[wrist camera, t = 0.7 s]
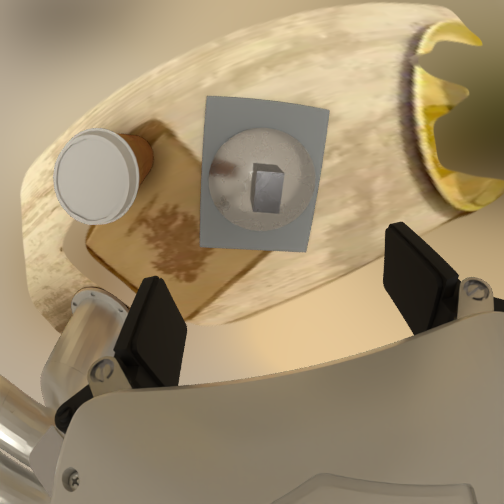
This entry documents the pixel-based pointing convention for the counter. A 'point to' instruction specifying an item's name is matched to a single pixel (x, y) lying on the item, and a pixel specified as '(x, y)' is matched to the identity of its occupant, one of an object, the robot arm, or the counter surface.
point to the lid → (261, 179)
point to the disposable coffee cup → (101, 174)
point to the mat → (248, 117)
